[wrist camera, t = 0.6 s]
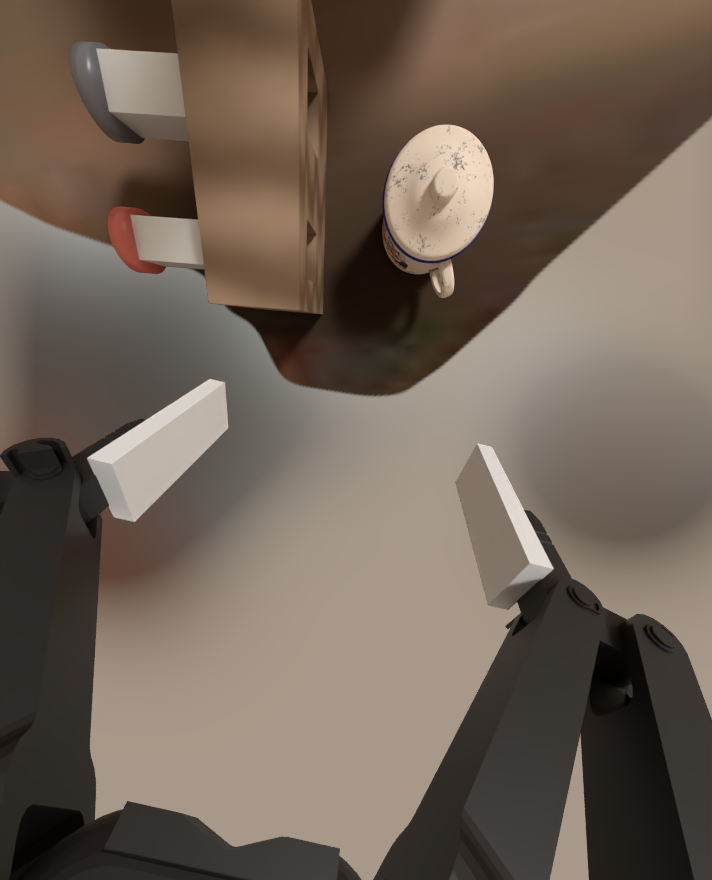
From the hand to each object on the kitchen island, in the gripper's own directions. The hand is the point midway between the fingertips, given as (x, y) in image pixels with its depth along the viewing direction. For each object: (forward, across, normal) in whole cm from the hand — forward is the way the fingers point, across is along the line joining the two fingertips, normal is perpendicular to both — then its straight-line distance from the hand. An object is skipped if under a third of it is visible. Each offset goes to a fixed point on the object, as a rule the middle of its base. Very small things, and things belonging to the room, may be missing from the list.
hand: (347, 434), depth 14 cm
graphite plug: (+23, -20, +14) cm, 34 cm away
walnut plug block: (+26, -12, +10) cm, 31 cm away
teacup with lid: (+27, +3, +10) cm, 29 cm away
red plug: (+21, -19, +5) cm, 29 cm away
